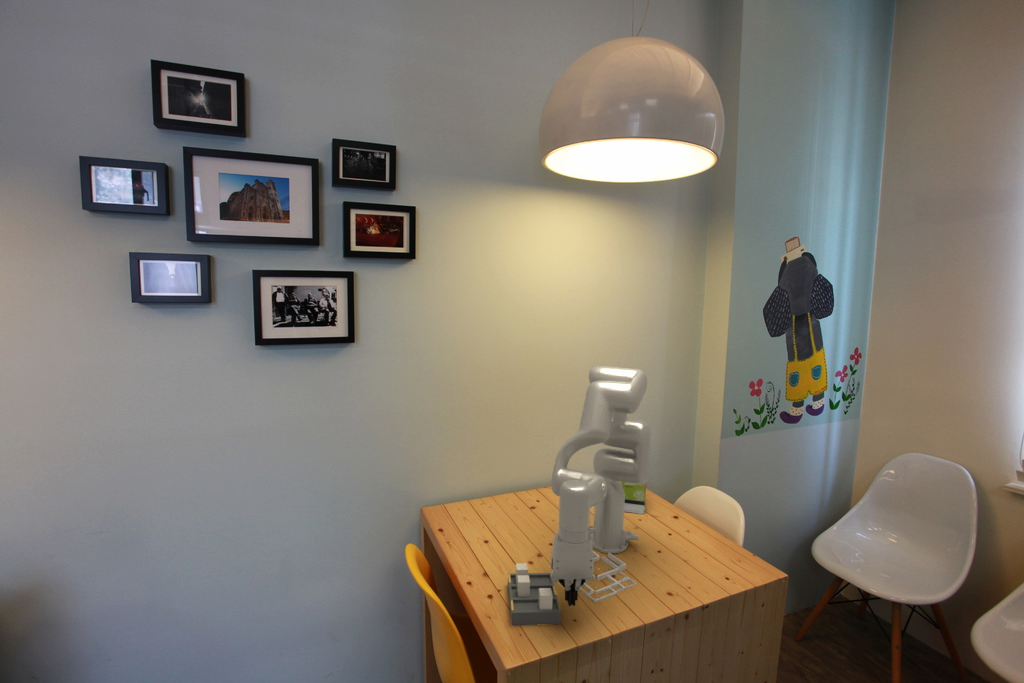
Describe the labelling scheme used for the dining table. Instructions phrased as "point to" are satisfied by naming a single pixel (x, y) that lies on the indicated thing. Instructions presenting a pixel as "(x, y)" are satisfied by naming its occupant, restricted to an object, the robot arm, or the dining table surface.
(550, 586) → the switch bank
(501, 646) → the dining table surface
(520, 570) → the white rectangular block
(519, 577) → the white block
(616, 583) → the floor plan model
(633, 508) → the tea box
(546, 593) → the tab
